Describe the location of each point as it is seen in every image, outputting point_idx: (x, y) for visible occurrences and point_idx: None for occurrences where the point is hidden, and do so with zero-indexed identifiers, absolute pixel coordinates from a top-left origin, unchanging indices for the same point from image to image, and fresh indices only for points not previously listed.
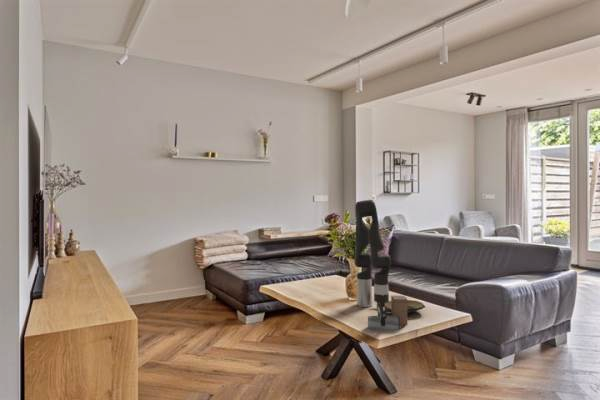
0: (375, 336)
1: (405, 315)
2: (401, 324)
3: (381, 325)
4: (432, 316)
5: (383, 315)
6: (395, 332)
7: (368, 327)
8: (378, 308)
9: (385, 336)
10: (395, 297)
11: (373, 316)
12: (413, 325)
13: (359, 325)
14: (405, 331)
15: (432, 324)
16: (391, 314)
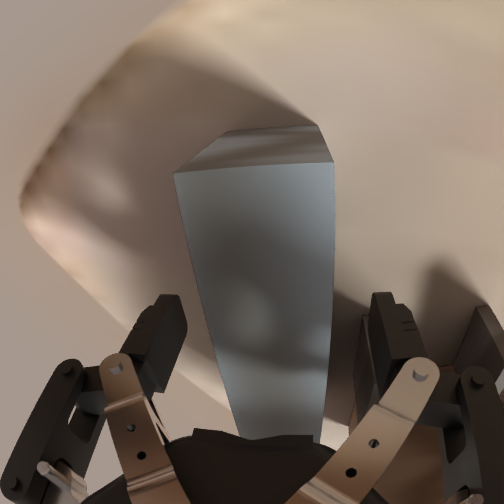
0: (54, 193)
1: None
2: (354, 409)
3: (162, 298)
4: None
5: (492, 352)
6: (184, 352)
7: (272, 128)
8: (145, 483)
9: (79, 270)
10: None
11: (282, 273)
12: (335, 442)
13: (372, 25)
14: (219, 401)
15: None
16: None
